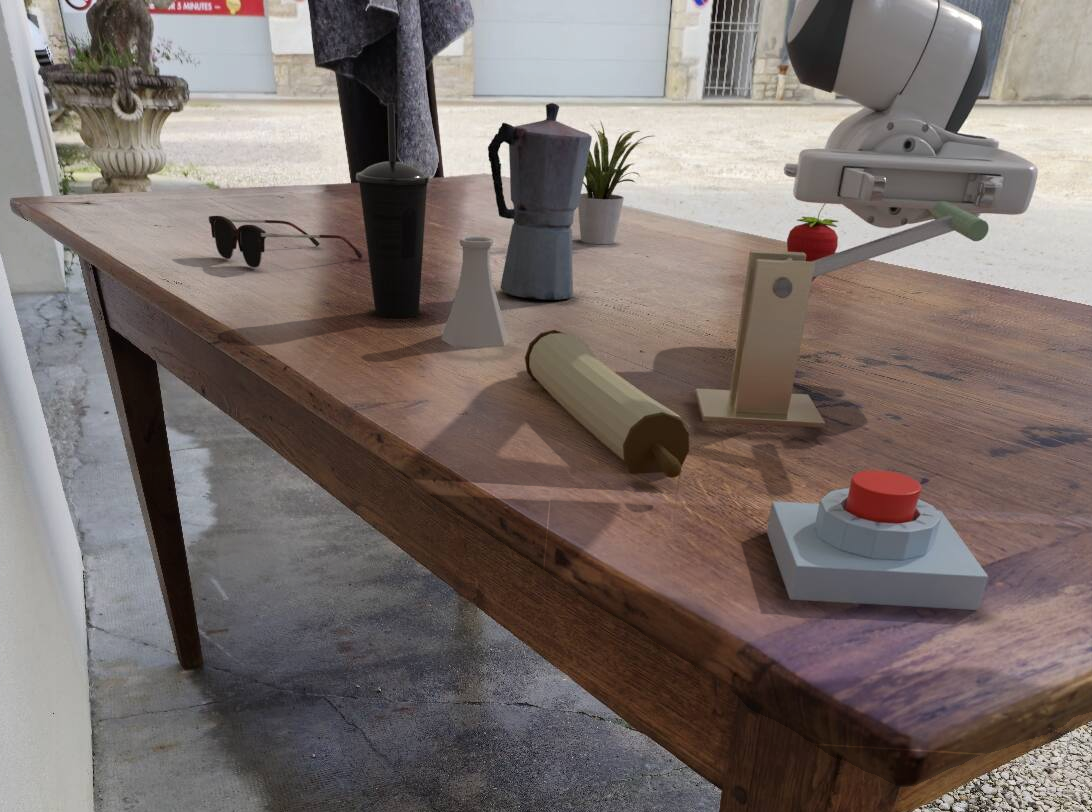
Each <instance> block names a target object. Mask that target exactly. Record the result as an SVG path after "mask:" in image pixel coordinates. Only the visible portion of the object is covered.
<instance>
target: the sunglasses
mask: <svg viewBox="0 0 1092 812" xmlns="http://www.w3.org/2000/svg"><path fill="white" fill-rule="evenodd" d="M207 219H208V223H209V224H210V230H211V231H210V232H211V238H213V239H214V240H215V241H214V242H215V246H216V250H217V253H218V255H219V256H221V257H222V258H223V259H225V260H230V259H232V258H233V255H234V251H235V250H236V249H237V246H238V248H239V252H241V253H242V256H243V259H244V262H245V264H246V265H247V266H248V267H250V268H253V269H256V268H259V267H260V266H261V263H262V257H263V253H265V250H266V249H265V247H266V246H265V242H266V241H265V239H266V238H300V239H301V238H303V239H305V238H307V239H309V241H310V242H312V244H313V245H314V246H315V247H319V245H320V244H321V243H320V242H319V241H318V240H317V239H338V240H342V241H344V242H345V243H346V244H347V245H348V246H349V247H350V248H351V249H352V250H353V252H354V253H355V255H356V257H357V258H358V259H359V260H361V259H362V258H363V254H362V253H361V251H360V250H359V249H358V248H357V247H356V246H354V244H353V243H351V242H350V240H348V239H347V237H344V236H342V235H336V234H309V233H307V232H306V231H304V230H303V229H302V228H300V227H299V226H298V225H296V224H295V223H292V222H290V221H286V220H279V219H278V220H277V219H243V218H242V219H240V218H227V217H226V216H224V215H210V216H208V218H207ZM234 223H252V224H243V225H240V226H239V227H238V228H237V227H236V225H235V224H234ZM253 223H254V224H253ZM255 223H256V224H282V225H288V226H290V227H292V228H294V229H295V230H297V231H298V232H300V233H301V234H296V233H295V234H294V233H277V232H266V231H265V230H264V229H262V228H261V227H260V226H258V225H255Z"/></svg>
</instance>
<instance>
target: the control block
mask: <svg viewBox="0 0 1092 812" xmlns="http://www.w3.org/2000/svg"><path fill="white" fill-rule="evenodd" d="M849 489H850V487H846V488H840V489H835V490H830V491H829V492H828V493H827V494H825V495H824V496H822V497H821V498H820V500H819V503H813V502H812V503H811V502H810V503H809V502H795V501H793V502H792V501H777V500H776V501H775V500H773V501H772V502H771V505H770V510H769V516H768V522H767V528H766V535H767V537H768V540H769V543H770V546H771V549H772V551H773V552H772V553H773V555H774V558H775V561H776V563H777V566H778V569H779V572H780V576H781V579H782V581H783V583H784V587H785V589H786V592H787V595H788V598H789V600H791V601H806V602H807V601H809V602H825V603H828V602H829V603H844V604H858V605H859V604H861V605H879V606H895V607H911V608H928V609H929V608H930V609H948V610H966V611H978V610H979V608H980V604H981V602H982V598H983V596H984V592H985V589H986V585H987V583H988V580H989V575H988V574H987V572H986V571H985V569H983V567H982V566H981V564H980V563H979V561H978V560H977V559H976V558H975V556H974V554H973V553H972V552H971V551H970V549H969V548H968V546H967V544H966V543H965V542H964V540H963V539H962V538H961V536H960V535H959V534H958V532H957V531H956V529H955V528H954V527H953V525H952V524H951V522H950V521H949V519H948V518H947V517H946V516H945V515H944V513H943V511H942V510H938V509H936V508H935V506H933V505H932V504H930V503H928V502H926V501H924V500H922V499H919V498H918V502H917V506H916V510H915V513H914V517H913V520H912V521H911V522H906V523H901V524H896V523H878V522H873V521H869V520H865V519H861V518H858V517H856V516H855V515H853V514H851V513H849V512H847V511H845V507H846V502H847V498H848V493H849Z"/></svg>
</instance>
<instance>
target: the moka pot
mask: <svg viewBox="0 0 1092 812" xmlns="http://www.w3.org/2000/svg"><path fill="white" fill-rule="evenodd" d="M559 110H560V105H558V104H557V103H554V102H550V103H548V104H545V113H546V115H545V116H546V119H543V120H540V121H539V120H538V121H535V122H529V123H525V124H520V125H515V126H513V125H512V124H509V123H507V122H502V123H501V126H500V127H498V131H497V133H495V135H494V136H493V138H492V139H491V142H490V143H489V144H488V146H487V151H488V152H487V153H488V156H487V157H488V161H489V163H490V169H491V177H492V181H493V189H494V194H495V202H496V206H497V207H496V208H497V210H498V216H499V217H501V218H504V219H506V220H507V219H509V220H513V222H512V223H513V224H512V226H511V230H510V235H509V241H508V246H507V251H506V256H505V262H504V267H503V272H502V276H501V281H500V289H501V291H502V292H503V293H504V294H507V295H509V296H514V297H519V298H524V299H534V300H547V301H559V300H567V299H571V298H572V297H573V293H574V282H573V281H574V279H573V277H574V275H573V270H574V269H573V230H572V228H571V226H572V225H573V224H574V217H575V211H576V210H577V209H578V205H579V200H580V195H581V194H582V189H583V185H584V184H583V182H584V181H585V176H584V175H585V170H586V165H587V160H588V155H589V150H590V151H591V145H592V141H593V140H592V139H593V137H592V135H590V134H589V133H588V132H585V131H581V130H579V129H577V128H574V127H571V126H570V125H566V124H564V123H563V122H560V121H558V120H557V117H558V113H559ZM503 143H506V144H507V145H508V152H509V153H508V155H509V156H508V160H509V186H510V187H509V188H510V201H511V202H512V205H513V208H510V209H509V208H508V207H507V204H506V200H505V196H504V187H503V181H502V180H503V179H502V163H501V159H500V155H499V150H500V149H501V145H502V144H503Z"/></svg>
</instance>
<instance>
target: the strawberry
mask: <svg viewBox="0 0 1092 812" xmlns="http://www.w3.org/2000/svg"><path fill="white" fill-rule="evenodd" d="M826 204H827V203H823V206H822V207H821V208H820V211H819V212H818V215H817V217H816V216H815V217H814V216H813V217H812V216H801V218H798V219H796V221H797V222H803V223H802V224H798V225H795V226H794V227H792V229H790V231H789V233H788V236H787V239H786V246H787V247H786V248H787V252H800V253H805V254H806V260H805V261H806V262H812V261H815V260H818V259H821V258H824V257H827V256H830V255H832V254H835V253H836V251H837V249H838V246H839V245H838V244H839V238H838V234H837V233H836V231H835V229H833V228H837V227H838V226H837V225H836V224H834V223H839V220H836V219H830V218H825V219H820V214H821V212H822V210H823V209H824V207H825V206H826ZM831 227H833V228H831ZM815 279H817V277H814V278H812V282H813V281H814V280H815Z"/></svg>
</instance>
